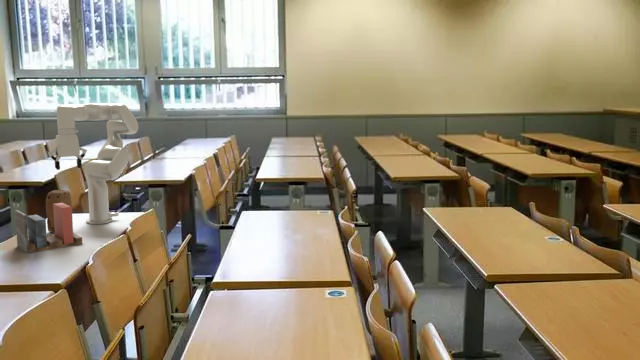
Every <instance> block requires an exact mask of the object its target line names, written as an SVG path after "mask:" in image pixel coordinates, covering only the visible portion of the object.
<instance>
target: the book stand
mask: <svg viewBox="0 0 640 360" xmlns="http://www.w3.org/2000/svg"><path fill="white" fill-rule="evenodd" d="M14 216H15V230H16V244H17V246H16V247H18V248H19V249H20V250H22V251H23V252H24V253H26V254H27V253H35V252H36V253H37V252H43V251H48V250H53V249H54V250H55V249H61V248H67V247H72V246H80V245H83V237H82V236H80V235H78V234H76V233H75V232H73V241H74V243H69V244H63V243H62V240H60V239H59V238H57V237H55V234H54V235H53V233H51V234H47V219H46V218H44V217H42V216H40V215H38V214H33V215H32V214H31V215H30V214H29V215H27V214H25V213H24V212H22V211H20V210H19V209H15V210H14Z"/></svg>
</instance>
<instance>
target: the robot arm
mask: <svg viewBox="0 0 640 360" xmlns="http://www.w3.org/2000/svg"><path fill="white" fill-rule="evenodd" d="M56 120H57V121H56V123H57V135H55V144H54V148H53V149H51V150H49V151H48V152H47V154H48V155H49V157H50V158H51V159H52V160H53V161H54V167H55V170H58V171H59V170H60V169H61V164H60V163H61V162H60V159H61V158H65V157H66V158H69V157H76V158H77V159H76V167H77V168H78V169H81V168H82V166H83V165H82V164H83V163H82V160H83V158H84V157H85V156H86V153H87V152H88V150H87V149H85V148H83V147H81V146H80V144H79V141H80V140H79V138H78V135H77V133H79V129H78V128H76V122H77V121H78V122H80V121H93V122H94V121H107V122H106V133H107V139H106V141H105V142H104V144H103V146H102V147H101V149H100V150H99V151H98V154H97V157H96V158H97V160H96V159H94V160H90V161H88V162H87V163H86V164H85V165H84V174H85V176H86V181H87V192H88V193H87V196H88V197H87V198H88V213H89V218H87V219H86V221H85V222H86V224H91V225H102V224H103V225H104V224H108V223H111V222H113V217H119V212H110V209H109V208H110V206H109V186H108V184H107V181H113V180H116V179H118V178H119V177H120V175H121V174H122V173H123V171H124V170H125V168H126V166H127V165H128V163H129V160H130V152H129V150H128V148H126V147H124V141H123V139H122V137H121V135H134V134H136V133H138V130H139V123H138V120H137V119H136V117H135V116H134V114H133V113H132V111H131V110H130V109H129V107H128V106H127V105H126V104H124V103H115V102H114V103H112V102H111V103H109V102H107V103H105V102H104V103H102V102H100V103H98V102H97V103H95V102H93V103H78V104H73V103H72V104H71V103H70V104H62V105H59V106H57V107H56ZM80 153H81V154H80ZM54 154H55V156H54ZM106 180H107V181H106Z"/></svg>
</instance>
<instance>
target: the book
mask: <svg viewBox="0 0 640 360" xmlns="http://www.w3.org/2000/svg"><path fill="white" fill-rule="evenodd" d="M53 211H54V228H55V233H54V236H55V237H57V238H59V239H60V240H62V243H63V244H69V243H74V241H73V233H74V227H73V206H72V207H71V206H69V205H66V204H64V203H55V204H53Z"/></svg>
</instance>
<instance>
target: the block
mask: <svg viewBox="0 0 640 360" xmlns="http://www.w3.org/2000/svg"><path fill="white" fill-rule="evenodd" d="M55 203H64V204H66V205H69V206H71V207H72V208H73V206H72V197H71V192H70V190H63V189H55V190H51V191H50V192H48V193H47V195H46V198H45V213H46V217H47V219H46V228H47V231H48V233H49V232H50V233H51V234H53V233H54V234H55V228H54V211H53V204H55Z"/></svg>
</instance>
